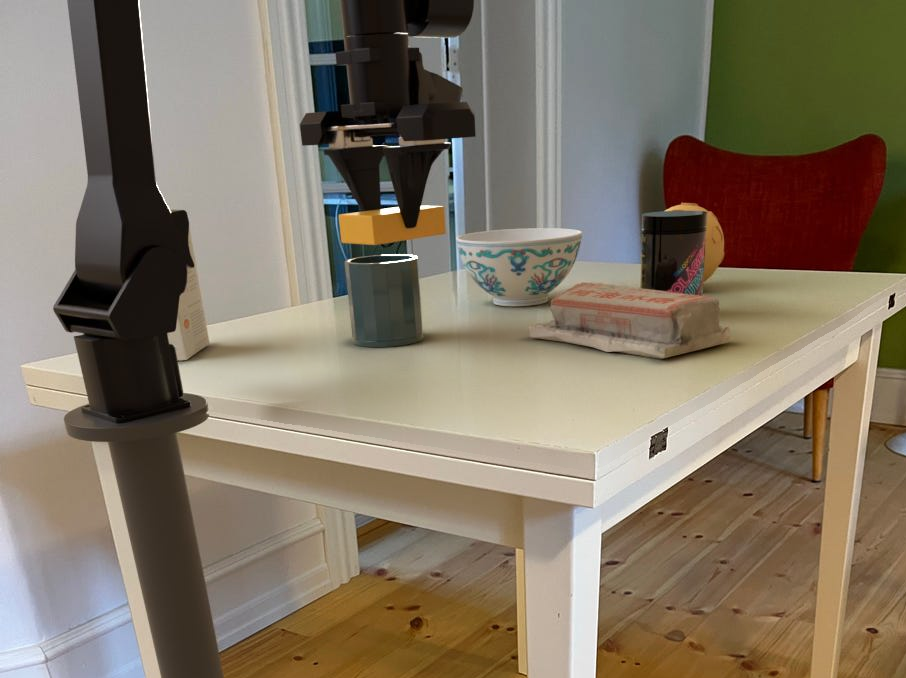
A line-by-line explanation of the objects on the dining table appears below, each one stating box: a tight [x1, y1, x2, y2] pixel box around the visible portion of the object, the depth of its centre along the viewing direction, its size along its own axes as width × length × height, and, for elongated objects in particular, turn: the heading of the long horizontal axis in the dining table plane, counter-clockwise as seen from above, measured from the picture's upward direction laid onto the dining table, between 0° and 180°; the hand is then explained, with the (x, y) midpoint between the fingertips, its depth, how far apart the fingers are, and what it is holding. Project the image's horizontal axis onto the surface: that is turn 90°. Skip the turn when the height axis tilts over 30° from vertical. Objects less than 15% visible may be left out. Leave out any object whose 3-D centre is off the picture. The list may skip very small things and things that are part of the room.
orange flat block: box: [338, 205, 447, 246], centre depth 94 cm, size 9×5×2 cm, turn 135°
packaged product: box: [528, 282, 731, 360], centre depth 96 cm, size 18×5×10 cm
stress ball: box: [664, 202, 726, 284], centre depth 122 cm, size 10×10×10 cm
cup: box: [344, 254, 424, 348], centre depth 101 cm, size 7×7×8 cm
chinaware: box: [455, 227, 583, 307], centre depth 120 cm, size 15×15×8 cm
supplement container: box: [639, 210, 707, 296], centre depth 105 cm, size 7×7×10 cm
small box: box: [167, 227, 211, 362], centre depth 99 cm, size 8×6×13 cm
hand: (392, 227), depth 94 cm, fingers closed on orange flat block, 5 cm apart
